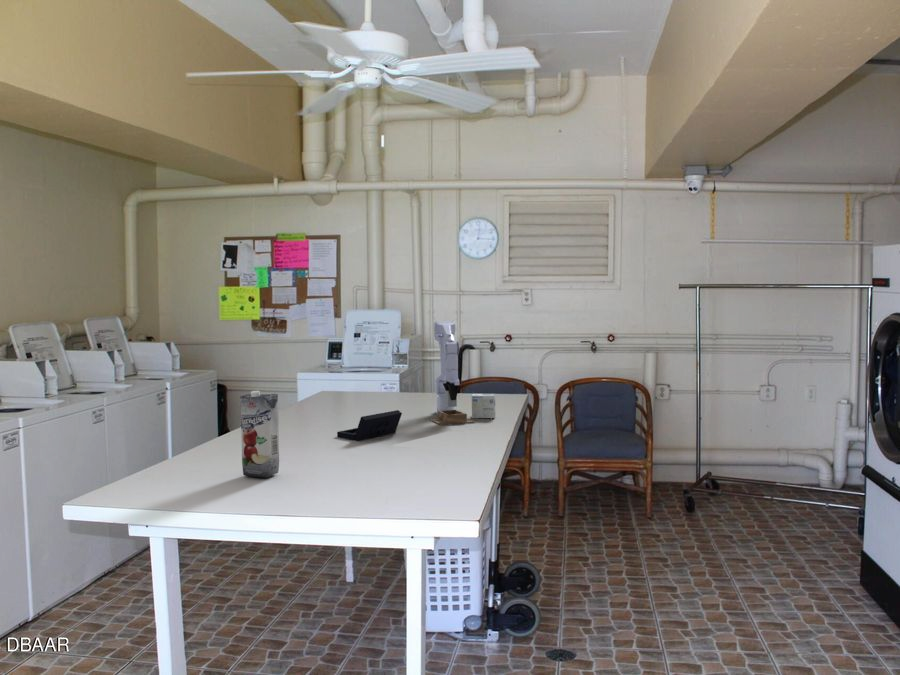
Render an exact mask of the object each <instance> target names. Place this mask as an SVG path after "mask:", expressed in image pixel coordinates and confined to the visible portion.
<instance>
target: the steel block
mask: <svg viewBox="0 0 900 675" xmlns="http://www.w3.org/2000/svg"><path fill="white" fill-rule="evenodd" d="M457 399H458V398H456V400H451V397H450V391H449V390H445V406H447V407H454V408H455V407H458V404H457V403H458V401H457Z"/></svg>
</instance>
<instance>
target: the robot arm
mask: <svg viewBox="0 0 900 675" xmlns="http://www.w3.org/2000/svg"><path fill="white" fill-rule="evenodd" d="M455 335H456V322H455V321H454V320H452V321H449V320H448V321H436V320H435V321H434V323H433V336H434V340H435V341H437V342H438V345H439V358H440V375H439V376H437V378H436V380H435V394H436V395H437V399H436V411H434V413H436V414H437V415H438V411H441V410H455V407H447V406H445V390H449V391H450V397H451V400H456V398H457V397H458V393H459V391H460V389H461V387H462V386H461V384H460V379H459V353H460V344H459V341H456V336H455ZM457 399H458V398H457Z"/></svg>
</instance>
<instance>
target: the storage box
mask: <svg viewBox="0 0 900 675" xmlns="http://www.w3.org/2000/svg"><path fill="white" fill-rule="evenodd" d="M402 413H403V412H401V411H400V410H398V409H397V410H391V411H386V412H380V413H374V414H368V415H363V416H360V419H359V422H358V425H357V427H356V428H355V427H354V428H350V429H345V430H339V431H336V434H337V435H336V436H337V438H341V439H346V440H348V441H349V440H350V441H357V442H361V441H366V440H370V439H375V438H378V437H384V436H387V435H392V434H396V432H397V430H398V426H399V423H400V420H401V417H402V415H403V414H402Z"/></svg>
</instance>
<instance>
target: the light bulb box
mask: <svg viewBox="0 0 900 675" xmlns="http://www.w3.org/2000/svg"><path fill="white" fill-rule="evenodd" d="M472 418H491V419H490V420H493V419H492V418H496V393H472V395H471V419H472Z"/></svg>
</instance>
